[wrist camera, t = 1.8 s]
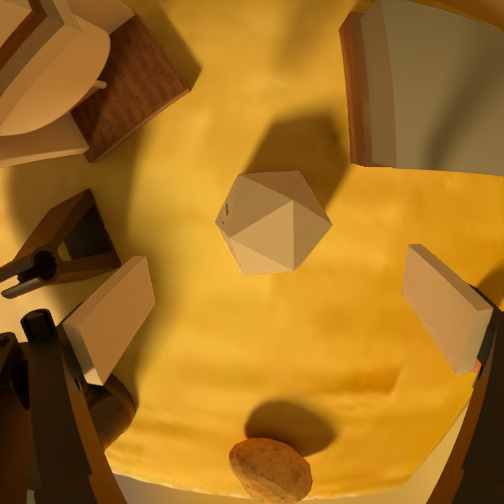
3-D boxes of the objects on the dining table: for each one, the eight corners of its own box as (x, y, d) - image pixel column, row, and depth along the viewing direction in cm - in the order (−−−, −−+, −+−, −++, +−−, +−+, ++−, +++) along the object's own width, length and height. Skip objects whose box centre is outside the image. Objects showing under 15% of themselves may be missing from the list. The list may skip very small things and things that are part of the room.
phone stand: (122, 266, 31) (61, 324, 20) (83, 279, 32) (21, 333, 21) (90, 187, 29) (11, 216, 17) (52, 207, 30) (-23, 241, 18)
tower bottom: (349, 162, 27) (365, 166, 22) (338, 31, 23) (350, 12, 18) (463, 166, 26) (490, 172, 21) (453, 48, 22) (479, 38, 17)
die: (292, 148, 27) (212, 153, 20) (363, 211, 24) (303, 241, 18) (254, 213, 32) (179, 236, 26) (312, 273, 30) (245, 316, 23)
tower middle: (371, 162, 22) (396, 168, 17) (359, 19, 18) (378, -5, 13) (487, 169, 21) (522, 178, 16) (478, 44, 17) (510, 34, 12)
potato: (254, 471, 43) (251, 517, 34) (225, 424, 39) (216, 479, 30) (313, 463, 42) (317, 510, 33) (296, 414, 37) (299, 471, 28)
